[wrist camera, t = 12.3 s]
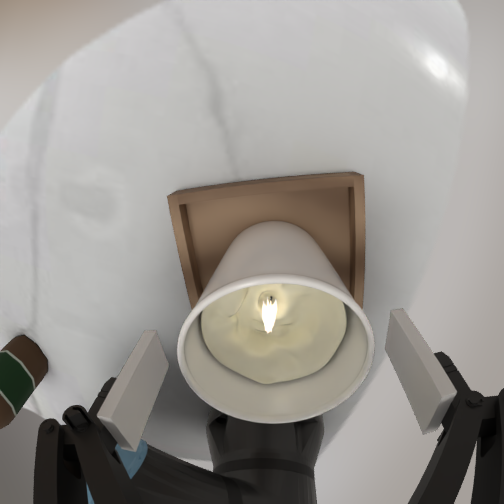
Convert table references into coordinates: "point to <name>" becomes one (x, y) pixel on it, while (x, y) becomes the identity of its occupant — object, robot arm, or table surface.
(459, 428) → the robot arm
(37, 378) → the beer bottle
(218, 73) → the table surface
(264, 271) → the candle holder
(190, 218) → the tray
